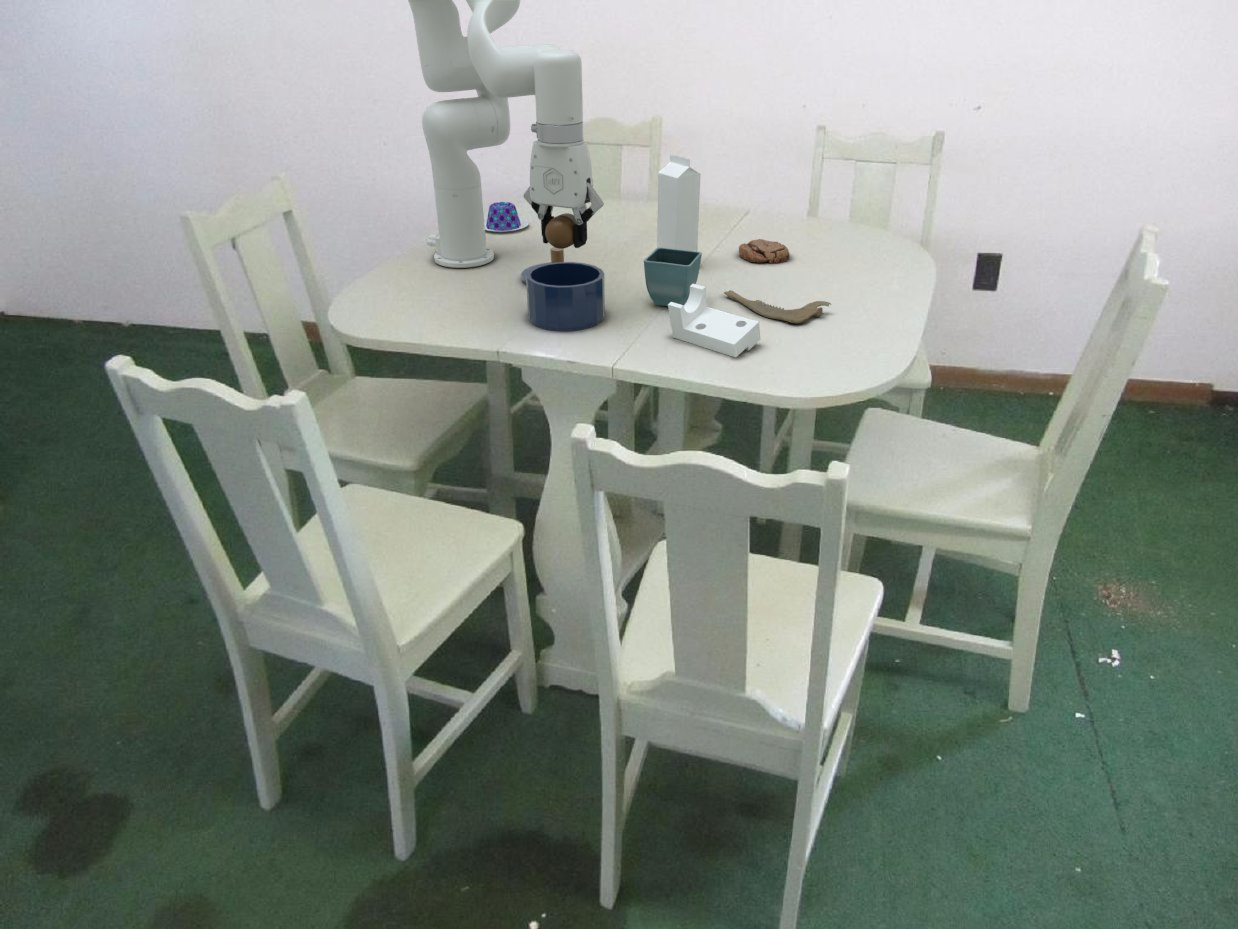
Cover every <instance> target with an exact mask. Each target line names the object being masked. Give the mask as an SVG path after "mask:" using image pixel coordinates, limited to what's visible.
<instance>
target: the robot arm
mask: <svg viewBox="0 0 1238 929" xmlns="http://www.w3.org/2000/svg"><path fill="white" fill-rule="evenodd" d="M465 1H466V3H467V5H468V7H469V9H470V10H471V12H472V13H471V16H470V18H469V21H468V26H467V32H466V33H467V34H466V36H464V35H463V32H462V27H461V20H460V19H461V18H460V13H459V10H458V7H457V5H456V3H455V2H454V0H407V2H408V4H409V6H410V10H411V13H412V17H413V23H414V31H415V37H416V42H417V43H416V44H417V49H418V56H419V61H420V62H419V63H420V69H421V73H422V77H423V80H424V83H425V85H426V86H427V88H428V89H429V90H431V91H433V92H436V93H453V92H454V93H456V92H464V91H473V90H474V91H476V95H477V96H474V97H462V98H453V99H451V98H450V99H444V100H438V101H436V102H433V103H432V104H430V105H428V106H427V107H426V108H425V109H424V111H423V113H422V116H421V124H422V131H423V134H424V139H425V143H426V145H427V150H428V154H429V160H430V165H431V172H432V181H433V189H434V200H435V210H436V218H437V219H436V220H437V228H438V234H434V233H431V234H430V235H429V236H428V239H427V240H426V245H427V246H429V247H435V249H436V252H435V253H434V255H433V260H434V262H435V263H436V264H437V265H439V266H442V267H444V268H445V267H446V268H453V269H454V268H455V269H465V268H466V269H467V268H476V267H481V266H483V265H484V266H485V265H488V264H489V263H492V261H493V260H494V259H495V252H494V250H493V249H491V248H490V247H488V246H487V241H486V230H485V226H484V220H485V215H484V213H485V212H484V202H483V189H482V178H481V177H482V176H481V173H480V170H479V168H478V166H477V165H476V163H475V161H473V159H472V158H471V157H470V155H469V154H468V151H472V150H477V149H483V148H490V147H497V146H501V145H502V144H504V143H505V142H507V140H509V136H510V134H511V113H510V106H509V105H510V104H509V99H510V98H518V97H529V96H534V97H535V99H534V100H535V117H536V118H535V119H536V121H535V123H532V124H531V126H530V130H531V132H532V133H535V134H536V139H537V140H534V141H533V142H532V147H531V154H530V163H529V164H530V165H529V187H527V189H526V191H525V192H524V194H522V195H523V199H524V200H525V201H526V202H527V203H528V204H529V205H530V206H531V208H532V209H533V211H534V212H535V214H537V219H538V220H540V228H541V236H542V243H543V244H550V243H549V242H548V241H547V239H546V235H545V229H546V226H547V224H548V222H549V221H550V220H551V219H553V218H554V217H555V216H554V215H552V214H553V210H554V208H555V207H556V208H562V209H564V208H565V209H571V211H572V214H573V215H574V217H575V221H576V224H574V225H573V239H574V244H573V248H575V249H579V248H581V247H583V246H585V245H587V244H586V243H587V241H588V222H590V220H591V219H592V218H593V216H594V215H595V214H596V213H597V212H598V211H599V210H601V209H602V208H603V206H604V203H605V202H604V201H603V199H602V198H601V197H600V195H599V194H598V193H597V191H596V190H595V189H594V178H593V177H594V176H593V168H592V160H591V155H590V151H589V146H588V142H586V141H584V105H583V102H584V100H583V70H582V69H583V67H582V66H583V65H582V63H583V62H582V57H581V56H580V54H579V53H578V52H577V51H576V50H575V51H574V50H571V49H561V48H560V47H558V46H556V45H554V44H549V43H548V44H547V43H543V44H541V43H540V44H524V45H510V46H501V47H500V46H498V44H497V43H496V41H495V40H494V39H493V36H492V35H491V34H492V33H493V32H495V31H497V30H498V29H500V28H501V27H503V26H505V25H506V24H507V23H508V22H510V21H511V20H512V19H513V17H514V16H515V15H516V14H517V12H518V10H519V8H520V4H521V0H465ZM589 203H591V204H590V206H589V207H587V204H589Z"/></svg>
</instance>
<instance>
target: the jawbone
mask: <svg viewBox="0 0 1238 929" xmlns="http://www.w3.org/2000/svg"><path fill="white" fill-rule="evenodd" d="M723 294H724V295H725V296H726V297H729V298H731V299H732V300H733V301H738V302H739V303H740V304H742V305H743V306H745V307H746V308H748V309H750V310H751V311H753V312H754V313H756V314H758V315H760V316H762V317H764V318H768V319H773V320H779V321H785V322H788V323H791V324H800V323H803V322H806V321H807V320H808V319H809V318H810V317H812V316H815V317H817V318H820V317H821V316H822V315H823V312H824V311H823V310H824V309H823V307H829V306H832V303H831V302H829V301H825V300H816V301H812V302H810V303H807V304H806V305H804V306H802V307H800V308H794V309H785V308H784V307H781V306H775V305H772V304H769V303H766V302H765V301H762V300H760V299H756V300H749V299H747V298H744V297H743V296H742V295H740V294H738V293H736V292H735V291H734V290H731V289H729V290H728V291H724V292H723Z"/></svg>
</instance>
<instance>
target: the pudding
mask: <svg viewBox="0 0 1238 929" xmlns="http://www.w3.org/2000/svg"><path fill="white" fill-rule="evenodd" d="M529 224H530V222H529V220H527V219H524V218H522V217H519V214H518V211H517V207H516V205H515V204H514V203H512V202H508V201H499V202H493V203H491V204H489V206H488V212H487V218H484V226H485V231H489V232H496V233H507V232H513V231H514V232H515V231H518V230H521V229H524V228H527V227H528V226H529Z"/></svg>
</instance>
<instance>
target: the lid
mask: <svg viewBox="0 0 1238 929" xmlns="http://www.w3.org/2000/svg"><path fill="white" fill-rule="evenodd" d="M549 250H550V261H549V262H543V263H538V264H534V265H531V266H528V267H527V268H525V269H524V270H523V271H521V274H520V276H521V281H522V282H523V283H525V284H526V274H527V272H528V271H529V270H531V269H533V268H534V267H537V266H540V265H544V264H548V263H556V262H565V248H564V249H559V248H555V247H553V246H552V247H551V248H550V249H549Z"/></svg>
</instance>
